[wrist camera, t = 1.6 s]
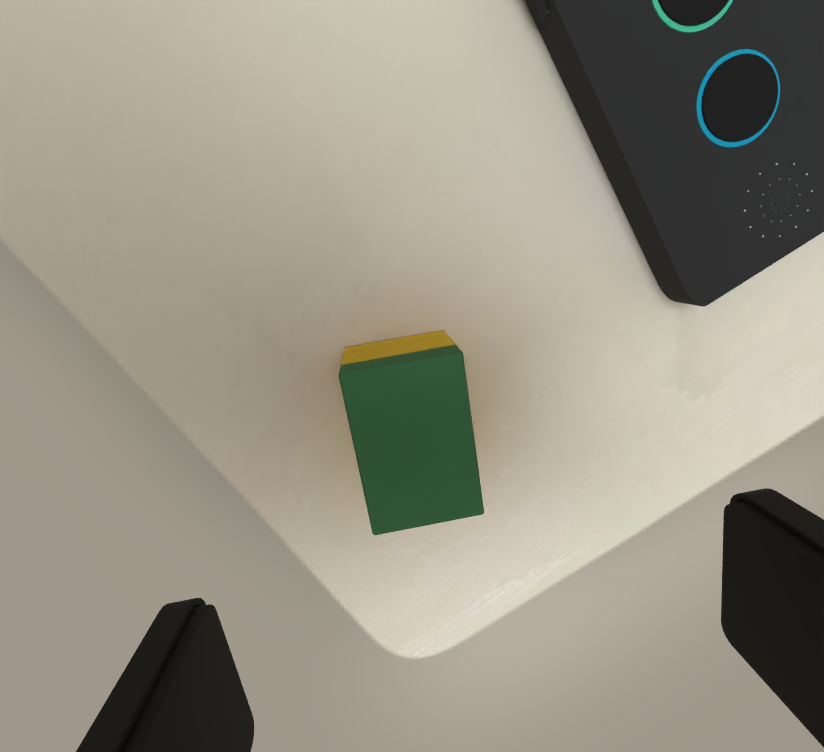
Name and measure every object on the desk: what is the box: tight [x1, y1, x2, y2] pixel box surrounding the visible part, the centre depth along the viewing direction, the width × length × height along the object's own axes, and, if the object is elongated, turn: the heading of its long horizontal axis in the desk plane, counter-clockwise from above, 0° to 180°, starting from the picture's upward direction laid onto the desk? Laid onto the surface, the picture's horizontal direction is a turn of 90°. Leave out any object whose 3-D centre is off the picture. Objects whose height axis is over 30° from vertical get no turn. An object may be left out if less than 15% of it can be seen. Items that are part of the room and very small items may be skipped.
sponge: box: [339, 330, 484, 535], centre depth 17 cm, size 6×4×4 cm, turn 9°
